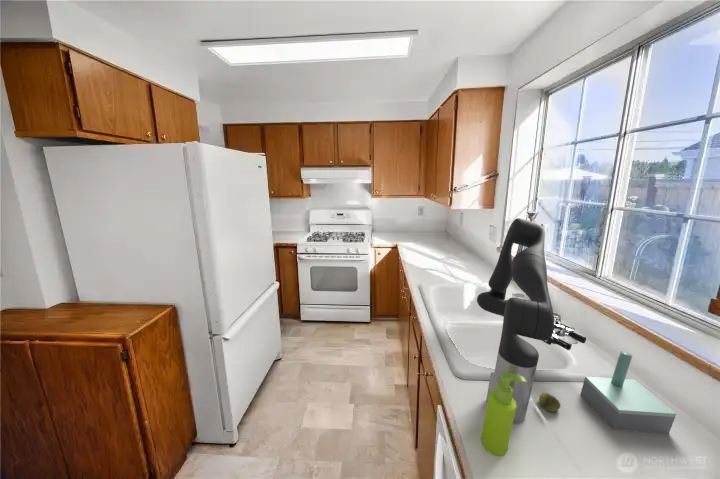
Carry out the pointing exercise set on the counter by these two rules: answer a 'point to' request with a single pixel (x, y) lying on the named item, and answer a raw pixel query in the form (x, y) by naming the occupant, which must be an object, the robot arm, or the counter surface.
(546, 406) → the lime
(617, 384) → the lid
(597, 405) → the tub
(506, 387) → the soap dispenser
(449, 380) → the counter surface
